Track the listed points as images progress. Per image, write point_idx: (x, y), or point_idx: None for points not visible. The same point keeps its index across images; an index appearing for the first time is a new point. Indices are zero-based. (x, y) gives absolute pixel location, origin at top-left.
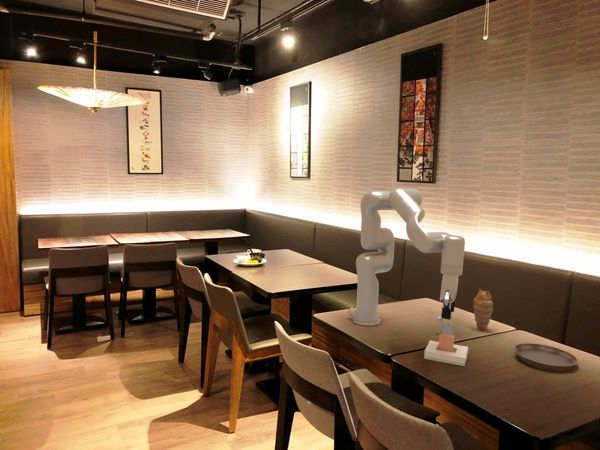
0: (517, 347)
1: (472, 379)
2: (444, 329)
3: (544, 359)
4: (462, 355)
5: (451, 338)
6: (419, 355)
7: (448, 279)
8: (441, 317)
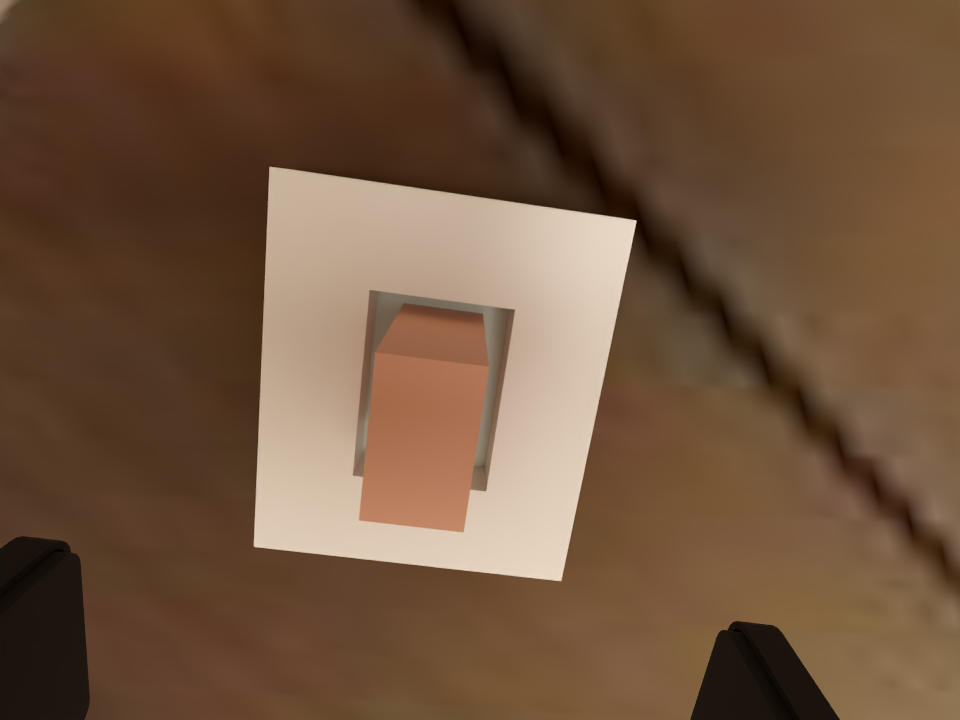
0: None
1: None
2: None
3: None
4: (311, 528)
5: (361, 497)
6: (368, 119)
7: None
8: (15, 542)
